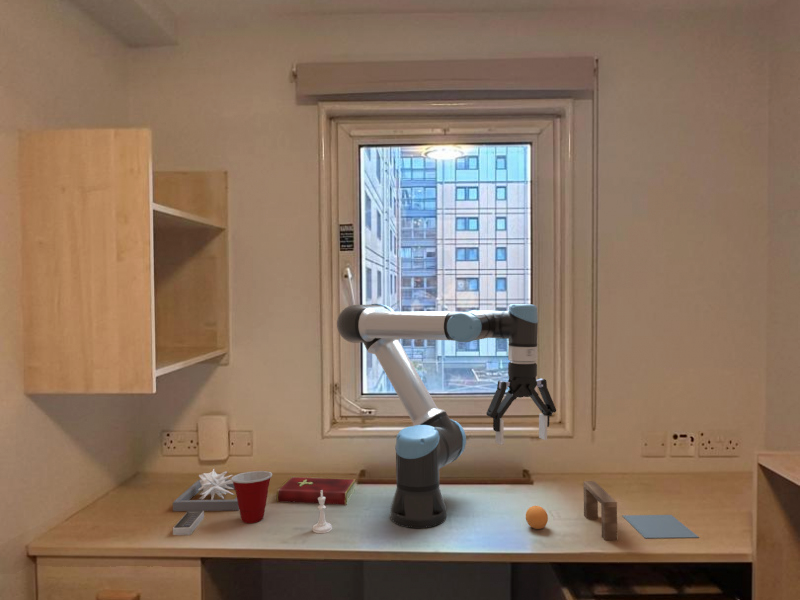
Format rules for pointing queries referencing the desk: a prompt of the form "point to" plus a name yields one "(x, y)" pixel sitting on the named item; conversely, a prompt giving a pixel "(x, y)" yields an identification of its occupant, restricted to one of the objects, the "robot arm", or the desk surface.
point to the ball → (536, 517)
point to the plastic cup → (252, 494)
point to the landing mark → (659, 526)
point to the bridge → (608, 508)
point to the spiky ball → (214, 484)
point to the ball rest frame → (203, 501)
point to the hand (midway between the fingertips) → (521, 441)
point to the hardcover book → (316, 490)
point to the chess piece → (322, 517)
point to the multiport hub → (188, 523)
